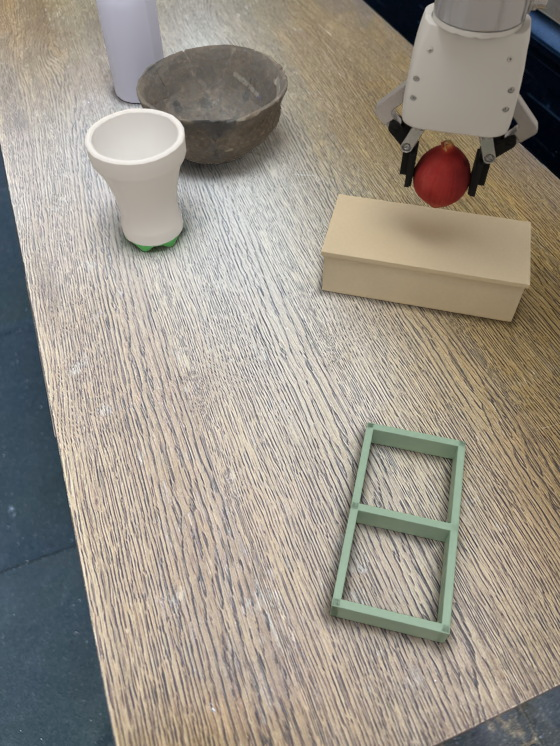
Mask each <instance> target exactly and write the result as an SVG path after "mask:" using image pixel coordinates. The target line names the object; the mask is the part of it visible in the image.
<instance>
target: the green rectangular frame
mask: <svg viewBox="0 0 560 746" xmlns="http://www.w3.org/2000/svg"><path fill="white" fill-rule="evenodd" d="M364 433H365V434H364V436H363V442H362V447H361V452H360V456H359V463H358V467H357V472H356V477H355V481H354V482H355V483H354V488H353V493H352V497H351V502H350V508H349V513H348V518H347V524H346V528H345V534H344V538H343V543H342V549H341V554H340V559H339V562H338V569H337V574H336V579H335V583H334V584H335V585H334V589H333V594H332V599H331V604H330V609H329V616H331V617H336V618H340V619H344V620H348V621H352V622H356V623H361V624H365V625H368V626H371V627H372V626H373V627H376V628H380V629H385V630H388V631H393V632H395V633H396V632H397V633H401V634H405V635H409V636H412V637H416V638H421V639H424V640H429V641H434V642H437V643H441V644H444V643H445V642H446V640H447V639H448V637H449V636H450V634H451V624H452V623H451V622H452V611H453V601H454V588H455V574H456V564H457V553H458V540H459V530H460V529H459V528H460V518H461V517H460V515H461V506H462V505H461V504H462V493H463V482H464V469H465V458H466V457H465V456H466V445H467V444H466V443H467V442H466V441H464V440H459V439H454V438H449V437H444V436H439V435H436V434H435V435H434V434H429V433H424V432H419V431H415V430H414V431H413V430H408V429H404V428H398V427H394V426H389V425H385V424H379V423H374V422H371V421H370V422H369V421H367V422H366V427H365V432H364ZM371 444H376V445H381V446H386V447H391V448H395V449H400V450H405V451H409V452H415V453H419V454H425V455H429V456H434V457H440V458H444V459H449V460H450V459H451V460H452V463H451V473H450V482H449V493H448V503H447V515H446V521H443V520H439V519H433V518H428V517H423V516H420V515H414V514H409V513H405V512H401V511H396V510H391V509H388V508H384V507H379V506H373V505H370V504H369V505H368V504H364V503H360V502H361V497H362V492H363V487H364V481H365V476H366V472H367V471H366V470H367V465H368V460H369V455H370V449H371ZM356 524H362V525H366V526H371V527H375V528H379V529H383V530H388V531H394V532H398V533H402V534H406V535H411V536H414V537H415V536H416V537H420V538H423V539H424V538H425V539H429V540H433V541H437V542H443V543H444V546H443V556H442V565H441V575H440V576H441V577H440V585H439V586H440V587H439V596H438V597H439V598H438V608H437V609H438V610H437V617H436V621H433V620H429V619H425V618H421V617H417V616H412V615H409V614H404V613H400V612H396V611H392V610H387V609H384V608H380V607H375V606H371V605H367V604H362V603H360V602H359V603H358V602H355V601H351V600H346V599H343V593H344V587H345V582H346V577H347V571H348V568H349V567H348V566H349V562H350V561H349V560H350V556H351V552H352V551H351V550H352V545H353V539H354V534H355V530H356Z"/></svg>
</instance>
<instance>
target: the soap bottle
mask: <svg viewBox="0 0 560 746" xmlns="http://www.w3.org/2000/svg"><path fill="white" fill-rule="evenodd" d="M94 1H95V5H96V10H97V15H98V19H99V24H100V28H101V33H102V39H103V42H104V46H105V50H106V51H105V52H106V56H107V61H108V64H109V70H110V75H111V79H112V84H113V88H114V92H115V94H116V97H118V98H119V99H120V100H122V101H124V102H126V103H131V104H141V103H140V101H139V99H138V97H137V92H136V87H137V83H138V80H139V78H140V77H141V76H142V74H143V72H144V71H145V70H146V68H147V67H149V66H150V65H152V64H154V63H156V62H157V61H159V60H161V59H163V58H165V54H164V47H163V41H162V34H161V27H160V21H159V14H158V8H157V0H94Z"/></svg>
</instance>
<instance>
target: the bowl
mask: <svg viewBox="0 0 560 746" xmlns="http://www.w3.org/2000/svg"><path fill="white" fill-rule="evenodd" d="M288 81H289V80H288V76H287V75H286V70H284V67H283V66H282V64H280V63H279V62H277V60H275V59H274V58H273V57H272V56H271V55H268V54H266V53H264V52H262V51H259V50H256V49H254V48H250V47H246V46H242V45H241V46H240V45H235V44H225V43H224V44H212V45H203V46H196V47H193V48H185V49H184V51H183V50H179V51H177V52H175V53H171V54H169V55H167V56H164V58H163V59H161V60H159V61H157V62H156V63H154V64H152V65H150V66H149V67H147V68H146V70H145V71H144V72H143V74H142V76H141V77H140V78H139V80H138V83H137V87H136V92H137V97H138V99H139V101H140V103H139V104H140V105H141V107H142V108H143V109H154V110H159V111H163V112H166V113H168V114H171V115H173V116H174V117H175V118H177V119H178V120H179V121H180V122H181V124H182V126H183V127H184V133H185V143H186V154H185V158H184V160H187V161H189V162H193V163H195V164H196V163H197V164H201V165H220V164H221V165H222V164H226V163H230V162H233V161H235V160H238V159H241V158H243V157H244V156H246V155H248V154H250V153H251V152H253V151H254V150H255V149H257V148H258V147H259V146H260V145H261V144H263V143H265V141H266V140H267V139H268V138H269V137H270V136H271V134H272V133H273V132H274V130H275V129H277V126H278V124H279V121H280V118H281V115H282V111H281V110H282V101H283V100H284V98H285V96H286V93H287V91H288V85H289V82H288Z"/></svg>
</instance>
